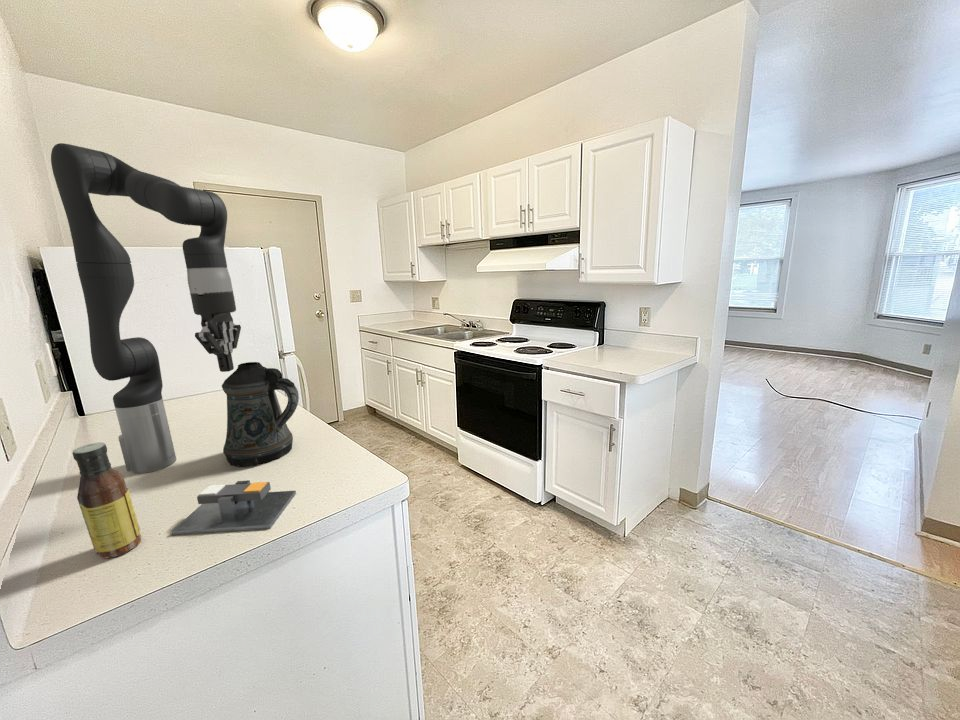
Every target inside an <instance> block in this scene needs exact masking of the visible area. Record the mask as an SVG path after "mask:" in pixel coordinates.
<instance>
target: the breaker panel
mask: <svg viewBox="0 0 960 720" xmlns="http://www.w3.org/2000/svg"><path fill="white" fill-rule="evenodd" d="M248 483H251V481H250V480H249V479H248V480H237V481H236V482H235V484H248ZM296 494H297V490H285V491H284V490H283V491H282V490H281V491H269V492H268V493H267V494H266V495H265V496H264V498H263V499H262V500H255V501H240V502H235V501H234V496H229V497H220V498H219V499H218V503H209V504H199V506H197V508H195V510H194V511H192V512H191V513H190V514H189V515H188V516H187V517H186V518H185V519H184V520H182V521H181V522H180V523H179V524H178V525H177V526H175V527H174V528H173V529H172V530H171V532H170V533H171V536H179V535H197V534H210V533H211V534H212V533H226V532H227V533H228V532H238V531H253V530H270V529H271V528H272V527H273V526H274V524H275V523H276V522H277V520H279V518H280V516H282V514H283V512H284V511H285V510H286V508H287V507H288V506H289V504H290V502H291V501H292V500H293V498H294V497H295V496H296Z"/></svg>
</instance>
